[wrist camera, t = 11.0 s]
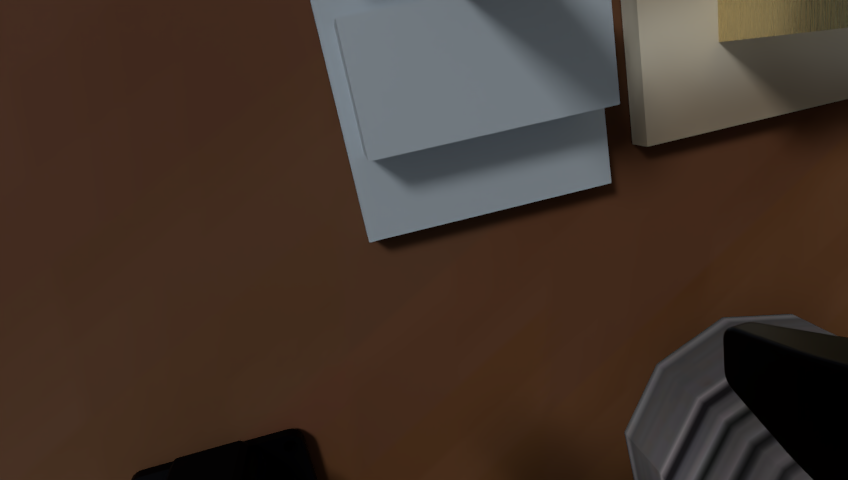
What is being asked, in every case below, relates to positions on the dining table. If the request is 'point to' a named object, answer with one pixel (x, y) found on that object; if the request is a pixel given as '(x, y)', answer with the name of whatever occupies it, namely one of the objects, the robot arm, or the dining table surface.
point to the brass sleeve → (778, 17)
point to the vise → (468, 103)
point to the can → (705, 417)
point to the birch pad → (720, 71)
